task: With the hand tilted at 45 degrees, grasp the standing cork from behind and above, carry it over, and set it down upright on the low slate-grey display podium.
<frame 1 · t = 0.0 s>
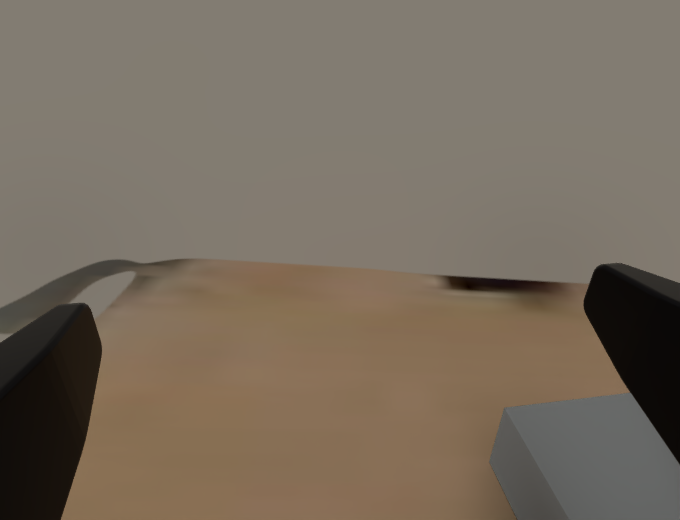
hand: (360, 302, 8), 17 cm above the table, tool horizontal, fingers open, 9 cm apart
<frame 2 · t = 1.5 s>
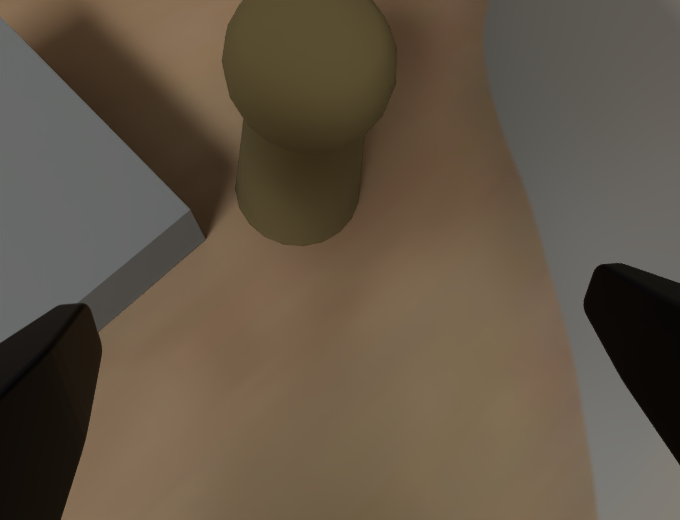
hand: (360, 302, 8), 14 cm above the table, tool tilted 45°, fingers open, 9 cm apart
cork: (298, 188, 24), on the table
podium: (7, 234, 21), on the table
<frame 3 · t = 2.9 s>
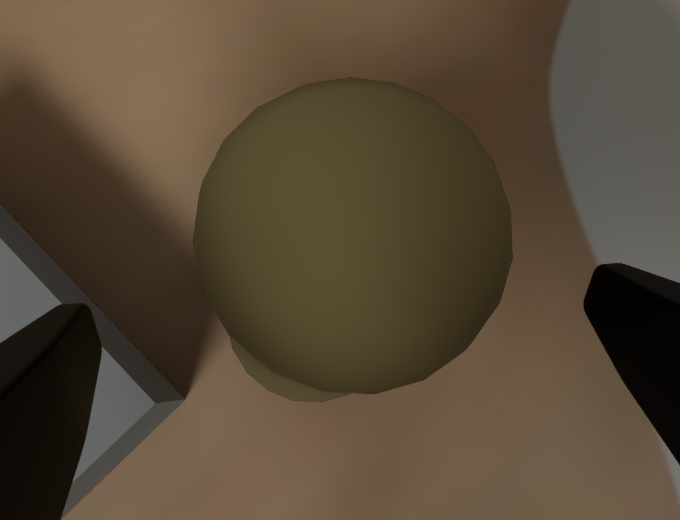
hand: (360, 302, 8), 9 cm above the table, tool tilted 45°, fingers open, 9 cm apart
cork: (313, 314, 17), on the table
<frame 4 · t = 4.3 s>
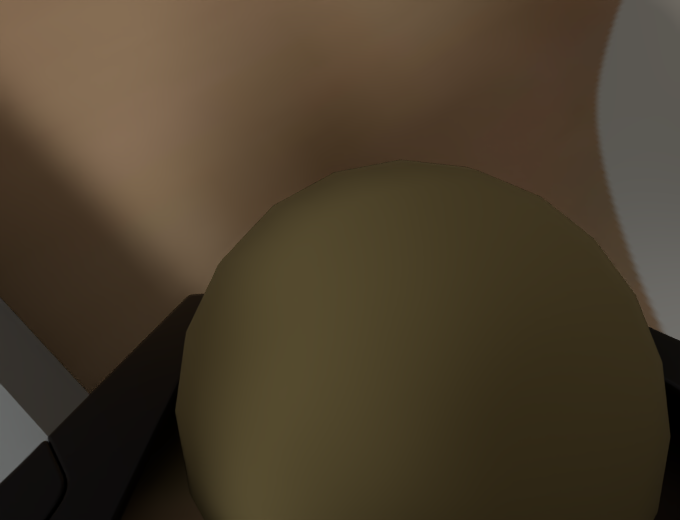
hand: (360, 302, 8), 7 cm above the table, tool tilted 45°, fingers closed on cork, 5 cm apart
cork: (328, 382, 15), on the table, touching gripper
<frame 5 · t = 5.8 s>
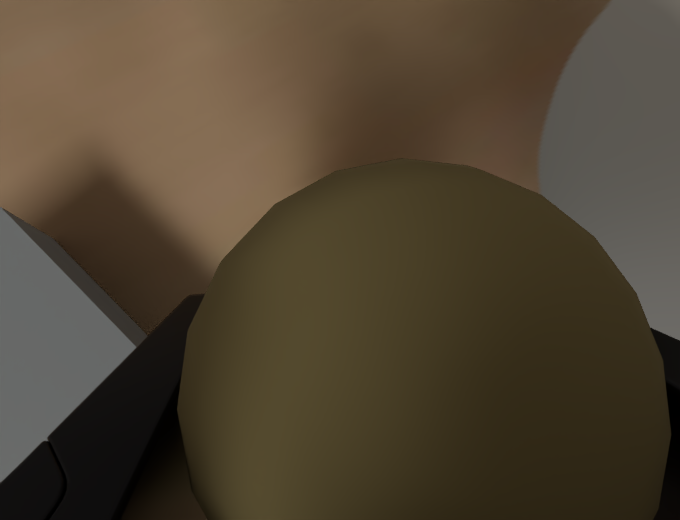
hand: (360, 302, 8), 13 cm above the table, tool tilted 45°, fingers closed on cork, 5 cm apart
cork: (329, 381, 15), point 6 cm above the table, touching gripper
podium: (27, 444, 19), on the table
when the fingers open (12 cm above the table, at t = 7.3 s): cork drops 1 cm, resting on podium.
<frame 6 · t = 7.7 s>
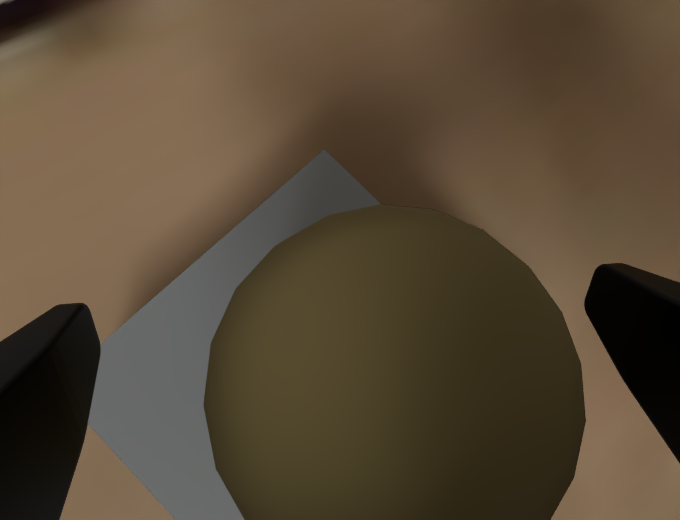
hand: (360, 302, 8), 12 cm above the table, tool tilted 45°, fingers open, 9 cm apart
cork: (324, 386, 16), point 4 cm above the table, touching podium
podium: (316, 381, 20), on the table
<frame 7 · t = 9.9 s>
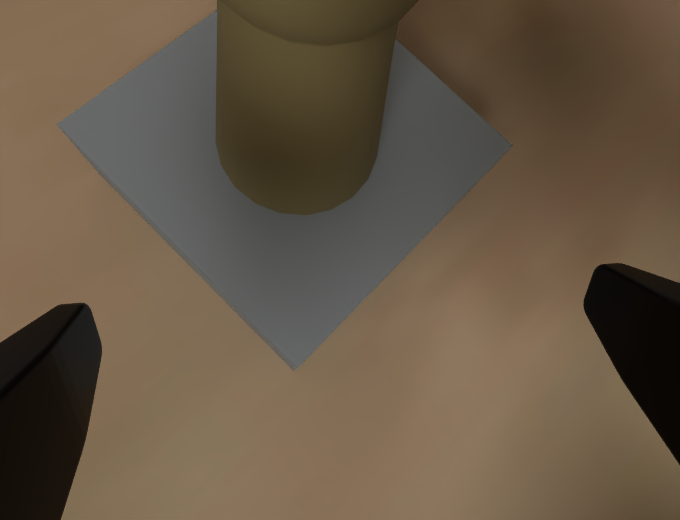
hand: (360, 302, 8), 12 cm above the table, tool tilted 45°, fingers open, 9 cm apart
cork: (298, 141, 18), point 4 cm above the table, touching podium
podium: (294, 178, 22), on the table
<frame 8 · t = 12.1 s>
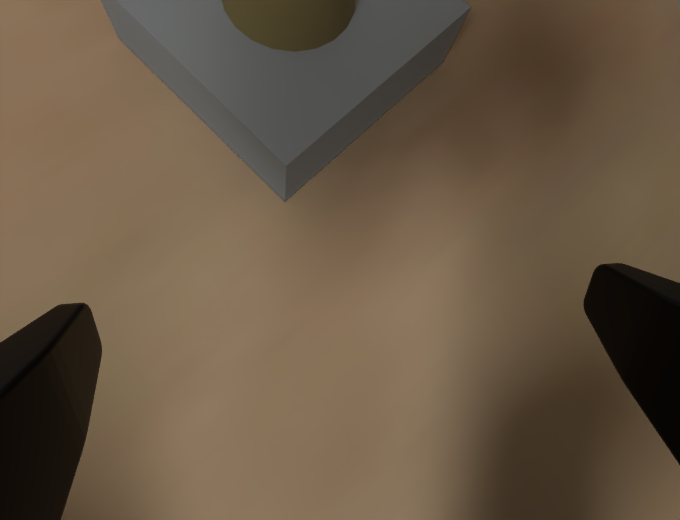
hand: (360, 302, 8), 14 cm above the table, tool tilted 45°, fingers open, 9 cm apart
podium: (287, 50, 25), on the table
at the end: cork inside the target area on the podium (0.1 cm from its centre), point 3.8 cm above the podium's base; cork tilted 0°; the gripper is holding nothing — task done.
